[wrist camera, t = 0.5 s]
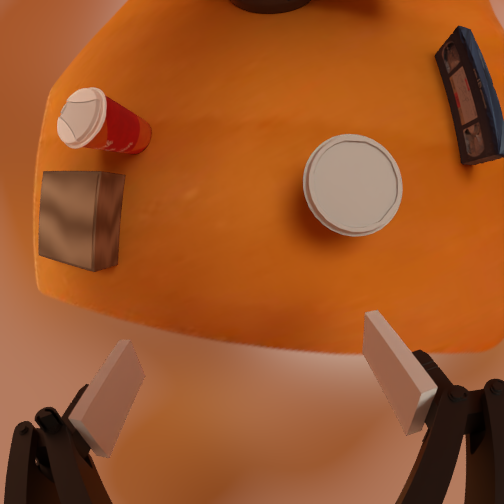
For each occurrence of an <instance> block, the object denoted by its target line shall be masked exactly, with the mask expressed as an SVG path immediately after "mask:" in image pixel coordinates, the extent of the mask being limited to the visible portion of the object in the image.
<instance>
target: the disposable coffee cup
mask: <svg viewBox="0 0 504 504" xmlns="http://www.w3.org/2000/svg"><path fill="white" fill-rule="evenodd" d="M303 189H304V194H305V198H306V201H307V203H308V206H309V208H310V209H311V211H312V212H313V214H314V215H315V217H316V218H317V219H318V220H319V221H320V222H321V223H322V224H323V225H324V226H326V227H327V228H329V229H330V230H332V231H334V232H337V233H339V234H342V235H347V236H353V237H354V236H365V235H369V234H372V233H374V232H376V231H378V230H380V229H382V228H383V227H384V226H385V225H387V224H388V223H389V222H390V221H391V219H392V218H393V217H394V215H395V214H396V212H397V210H398V208H399V205H400V202H401V198H402V189H403V188H402V178H401V175H400V171H399V168H398V166H397V164H396V162H395V160H394V158H393V157H392V156H391V154H390V153H389V152H388V151H387V150H386V149H385V148H384V147H383V146H382V145H380V144H379V143H377V142H376V141H374V140H373V139H370V138H367V137H365V136H361V135H356V134H344V135H339V136H335V137H332V138H330V139H328V140H326V141H325V142H323V143H322V144H321V145H319V146H318V147H317V148H316V149H315V151H314V152H313V153H312V154H311V156H310V158H309V159H308V161H307V164H306V167H305V170H304V176H303Z"/></svg>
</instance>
